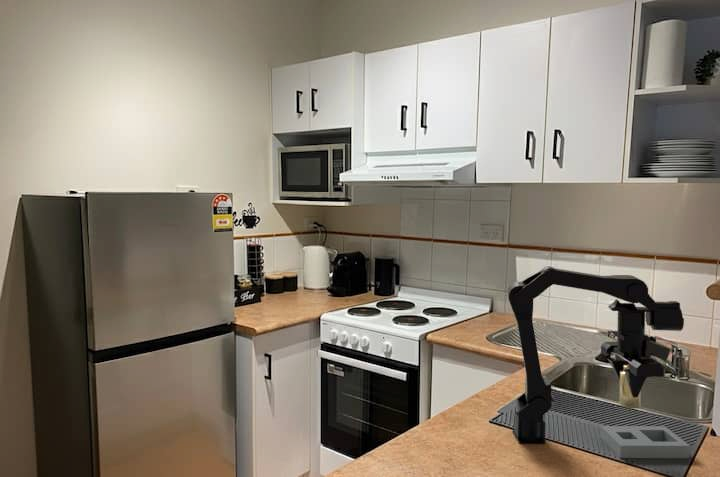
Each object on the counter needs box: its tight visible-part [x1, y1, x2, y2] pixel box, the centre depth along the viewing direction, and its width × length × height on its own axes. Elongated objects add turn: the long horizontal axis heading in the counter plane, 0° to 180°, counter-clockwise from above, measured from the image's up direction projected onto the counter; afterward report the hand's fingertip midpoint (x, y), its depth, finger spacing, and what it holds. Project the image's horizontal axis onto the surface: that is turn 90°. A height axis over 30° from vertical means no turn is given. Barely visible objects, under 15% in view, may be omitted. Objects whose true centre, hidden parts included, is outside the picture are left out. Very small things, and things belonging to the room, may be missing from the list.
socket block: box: [599, 425, 691, 459], centre depth 123 cm, size 16×10×3 cm, turn 89°
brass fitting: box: [619, 364, 642, 409], centre depth 122 cm, size 4×4×10 cm
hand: (630, 393), depth 122 cm, fingers closed on brass fitting, 4 cm apart
